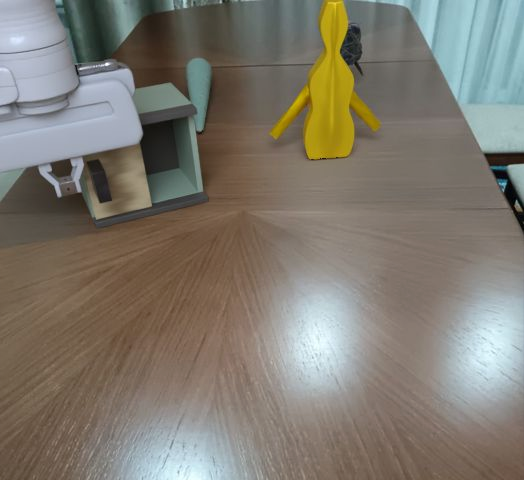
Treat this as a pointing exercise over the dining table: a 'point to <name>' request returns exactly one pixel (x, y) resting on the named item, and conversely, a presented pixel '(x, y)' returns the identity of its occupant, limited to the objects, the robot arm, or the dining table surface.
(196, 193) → the closet
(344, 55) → the dark grey lumpy shape
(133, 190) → the closet door
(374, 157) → the dining table surface
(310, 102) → the figure statuette
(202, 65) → the mint green cone
